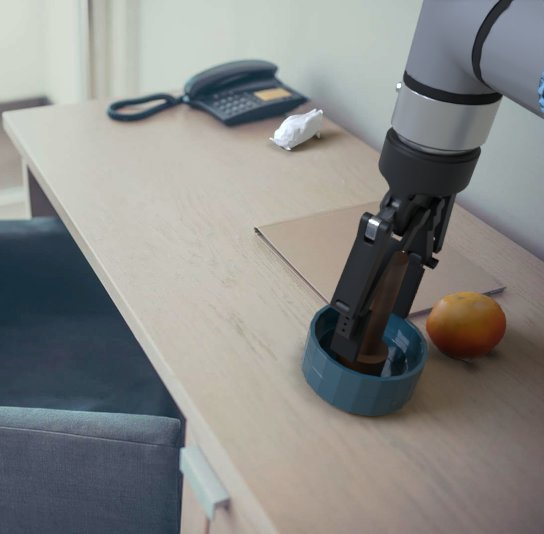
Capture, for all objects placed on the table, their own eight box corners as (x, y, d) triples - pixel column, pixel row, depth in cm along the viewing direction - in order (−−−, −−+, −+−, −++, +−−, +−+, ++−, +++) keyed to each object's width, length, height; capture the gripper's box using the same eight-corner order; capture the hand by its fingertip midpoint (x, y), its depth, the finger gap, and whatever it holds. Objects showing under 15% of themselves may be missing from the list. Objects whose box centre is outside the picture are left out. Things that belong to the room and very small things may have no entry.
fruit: (492, 381, 69) (477, 313, 67) (424, 370, 76) (409, 308, 74) (526, 347, 73) (514, 283, 72) (460, 340, 80) (446, 281, 78)
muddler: (388, 373, 71) (431, 258, 61) (363, 396, 68) (404, 279, 58) (349, 349, 74) (385, 235, 64) (323, 370, 71) (356, 254, 61)
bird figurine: (293, 135, 121) (265, 139, 114) (310, 102, 117) (282, 104, 110) (314, 148, 119) (286, 154, 111) (332, 115, 115) (304, 119, 108)
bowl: (432, 380, 71) (449, 341, 67) (373, 439, 65) (388, 400, 61) (340, 323, 78) (351, 285, 74) (278, 372, 72) (287, 333, 68)
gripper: (455, 88, 61) (393, 272, 75) (319, 159, 50) (276, 362, 63) (535, 114, 57) (454, 305, 71) (407, 198, 45) (340, 407, 59)
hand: (370, 331), depth 67 cm, fingers open, 9 cm apart
